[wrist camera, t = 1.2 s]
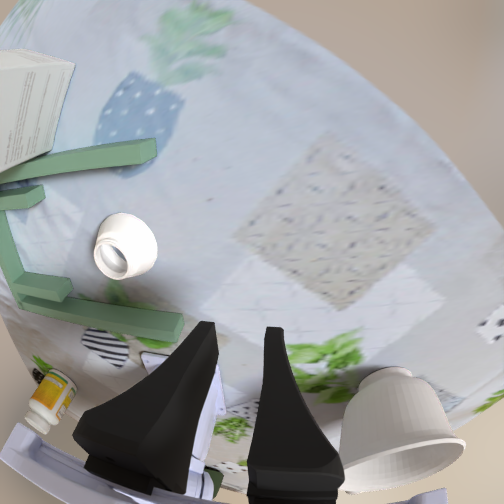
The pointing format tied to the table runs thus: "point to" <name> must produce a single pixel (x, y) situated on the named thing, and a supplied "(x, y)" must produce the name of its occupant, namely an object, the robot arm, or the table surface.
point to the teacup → (394, 433)
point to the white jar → (125, 247)
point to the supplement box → (30, 103)
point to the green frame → (57, 288)
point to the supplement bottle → (50, 400)
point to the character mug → (215, 480)
